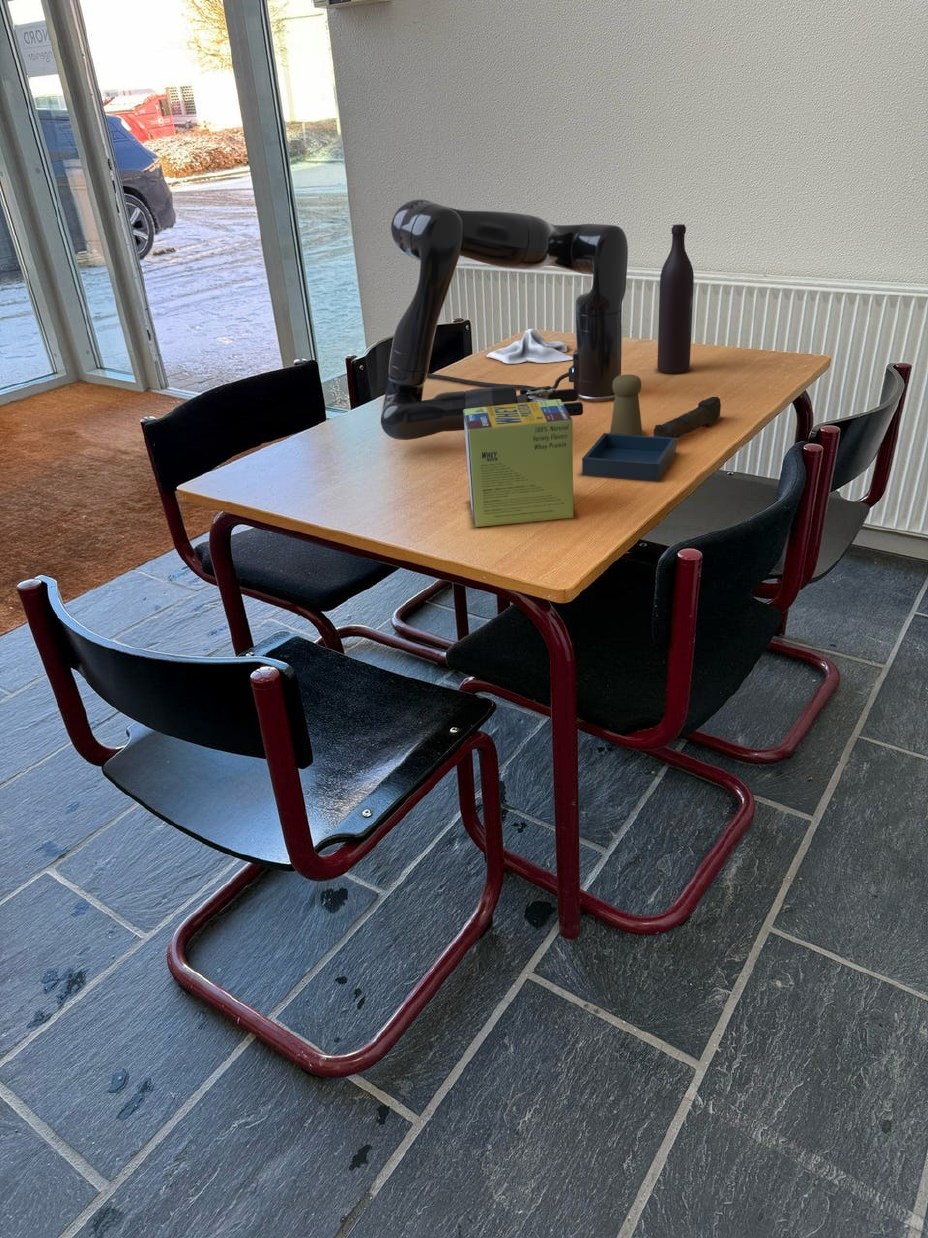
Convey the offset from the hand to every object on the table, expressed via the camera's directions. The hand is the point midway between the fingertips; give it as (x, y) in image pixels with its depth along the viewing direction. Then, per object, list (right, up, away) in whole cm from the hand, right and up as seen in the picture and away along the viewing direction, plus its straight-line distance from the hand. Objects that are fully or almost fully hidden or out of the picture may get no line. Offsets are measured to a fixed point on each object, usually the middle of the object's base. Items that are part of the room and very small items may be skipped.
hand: (579, 401), depth 165 cm
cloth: (-3, +25, +59) cm, 64 cm away
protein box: (-12, -23, -23) cm, 34 cm away
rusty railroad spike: (+20, -5, +3) cm, 21 cm away
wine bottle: (+26, +16, +38) cm, 49 cm away
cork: (+9, -6, +3) cm, 11 cm away
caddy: (+7, -13, -10) cm, 18 cm away
